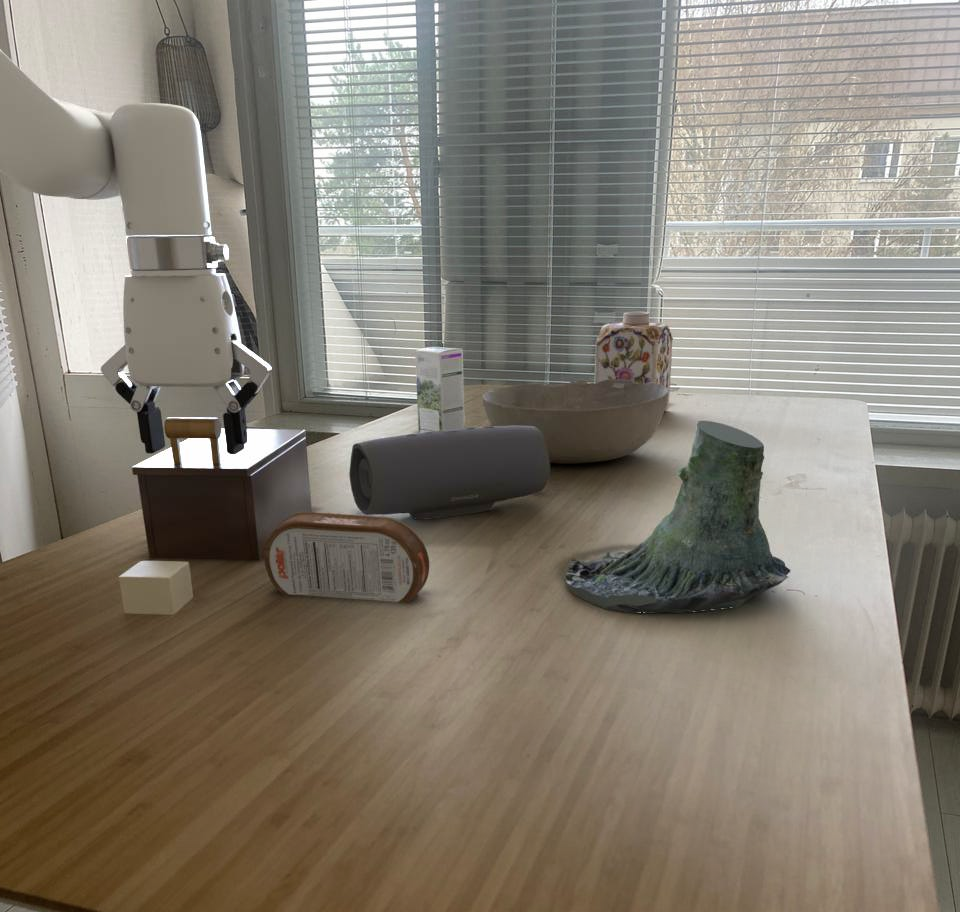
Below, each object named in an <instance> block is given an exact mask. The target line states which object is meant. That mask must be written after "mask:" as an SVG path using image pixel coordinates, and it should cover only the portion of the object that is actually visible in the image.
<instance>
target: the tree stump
mask: <svg viewBox="0 0 960 912" xmlns="http://www.w3.org/2000/svg"><path fill="white" fill-rule="evenodd" d="M696 424H697V425H696V430H695V436H694V440H693V442H692V446H691V453H690V456H689V459H688V462H687V466H685V467H682V468H681V469H679V470H678V473H677V475H678V477H679V478H680V480H681V485H680V487H679V491H678V494H677V496H676V499H675V504H674V507H673V509H672V510H671V511H670V513H668V514H666V515H665V516H664V517H663V518H662V519H661V520H660V522H659V523H658V524H657V526H656V527H655V528H654V530H653V531H652V532H651V535H649V536H648V537H647V538H646V539H644V540H643V541H642V542H641V543H639V544H638V545H636V546H635V547H634V548H633V549H631V550H628V551H627V552H626V551H619V552H616V553H610V552H609V551H607V552H606V554H605V555H602V556H600V557H597V558H593V559H590V560H586V561H585V560H584V561H579V560H576V559H577V558H573V557H572V558H571V562H570V563H569V566H568V571H566V573H565V585H566V587H567V589H568V591H569V592H570V593H572V594H573V595H575V596H576V597H577V598H579V599H582V600H584V601H586V602H589V603H591V604H593V605H596V606H598V607H600V608H603V609H605V610H610V611H616V610H617V612H623V611H625V612H624V613H630V612H634V613H633V614H636V613H635V612H641V613H640V614H644V613H643V612H693V611H702V610H711V609H721V608H730V607H736V608H737V607H739V606H740V605H742V604H743V603H744V602H746V601H748V600H749V599H750V598H752V597H754V596H757V595H759V594H762V593H763V592H766V591H768V590H770V589H772V588H775V587H777V586H779V585H780V584H781V583H783V582H785V580H786V579H788V578H789V576H788V574H790V573H791V571H792V569H790V568H789V567H787V566H786V563H785V561H783V560H782V559H780V558H779V557H776V556H775V555H774V556H773V554H772V552H771V548H770V547H771V546H770V543H769V539H768V537H767V533H766V531H765V529H764V527H763V525H762V523H761V520H760V509H759V508H760V507H759V505H760V491H761V480H762V478H763V475H764V472H763V471H762V467H763V463H764V461H765V454H764V452H765V448H764V447H765V444H764V443H763V442H762V441H761V440H760V439H758V438H757V437H755V436H754V435H752V434H750V433H748V432H746V431H744V430H741V429H739V428H736V427H733V426H731V425H728V424H726V423H725V424H724V423H720V422H716V421H710V420H698V421H697V423H696ZM730 609H731V608H730ZM618 610H619V611H618ZM721 610H722V609H721ZM626 611H627V612H626ZM702 612H703V611H702ZM693 613H694V612H693Z"/></svg>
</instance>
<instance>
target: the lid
mask: <svg viewBox="0 0 960 912" xmlns="http://www.w3.org/2000/svg"><path fill="white" fill-rule="evenodd" d="M163 431H164V435H165V436H166V438H167V439H169V441H170V447H169V448H167V449H165V450H164V451H161V452H159V453H157V454H155V455H153V456H151V457H149V458H147V459H145V460H143V461H141V462H139V463H138V464H135V465H133V466H132V467H131V470H132V471H131V472H132V475H133V476H137V475H170V476H235V477H248V476H249V475H250V474H252V473H253V472H255V471H256V470H258V469H259V468H261V467H262V466H263V465H265V464H266V463H268V462H269V461H271V460H272V459H274V458H275V457H276V456H278V455H279V454H281V453H282V452H284V451H285V450H287V449H288V448H289V447H291V446H292V445H294V444H295V443H297V442H298V441H300V440H301V439H302V438H304V437H306V436H307V434H306V430H305V429H289V428H287V429H286V428H285V429H284V428H282V429H281V428H280V429H279V428H274V429H272V428H247V435H248V440H247V443H246V444H244V445H245V446H244V449H243V450H242V451H240V452H238V453H237V454H229V453H227V448H226V439H225V430H224V428H222V423H221V420H220V419H219V418H218V417H166V418H165V420H164V425H163ZM180 439H181V440H182V439H183V440H184V441H182V442H181V441H180ZM185 439H186V440H185Z"/></svg>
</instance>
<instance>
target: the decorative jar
mask: <svg viewBox="0 0 960 912" xmlns="http://www.w3.org/2000/svg"><path fill="white" fill-rule="evenodd" d="M622 317H623V318H622V321H618V322H610V323H607V324H604V325H602V327H601V329H600V331H599V334H598V335H597V337H596V338H597V339H596V341H595V354H594V355H595V357H594V377H593V378H594V382H593V383H598V382H600V381H602V380H606V379H613V380H632V381H634V382H637V383H639V382H640V383H645V384H646V383H649V382H652V383H658V384H662V385H664V386H665V387H667V388H668V390H669V394H668V399H667V404H666V407H665V410H664V412H666V411H668V409H669V405H670V393H671V376H672V356H673V355H672V353H673V340H674V336H672V332H671V330H670V325H668V324H665V323H663V322H653V321H650V312H649V311H628V312H624V313H623V316H622Z"/></svg>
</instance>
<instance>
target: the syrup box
mask: <svg viewBox="0 0 960 912" xmlns="http://www.w3.org/2000/svg"><path fill="white" fill-rule="evenodd" d="M414 357H415V358H414V359H415V381H416V383H415V384H416V402H417V403H416V405H417V425H418V426H417V427H418V428H417V430H418V433H424V432H432V431H440V430H446V429H464V428H466V427H465V402H464V401H465V393H464V391H465V389H464V351H463V348H455V347H442V346H427V347H421V348H419V349H414Z"/></svg>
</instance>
